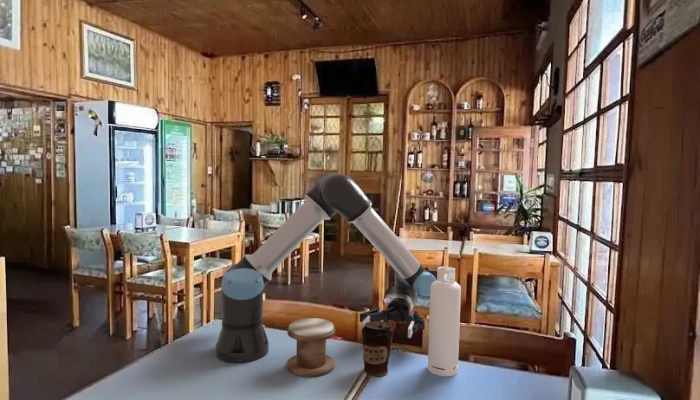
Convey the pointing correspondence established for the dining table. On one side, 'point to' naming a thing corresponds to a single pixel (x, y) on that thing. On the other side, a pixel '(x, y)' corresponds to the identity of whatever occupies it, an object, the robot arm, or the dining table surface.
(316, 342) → the cup pedestal
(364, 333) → the coffee cup
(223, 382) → the dining table surface
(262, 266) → the robot arm
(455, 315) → the bottle
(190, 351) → the dining table surface
